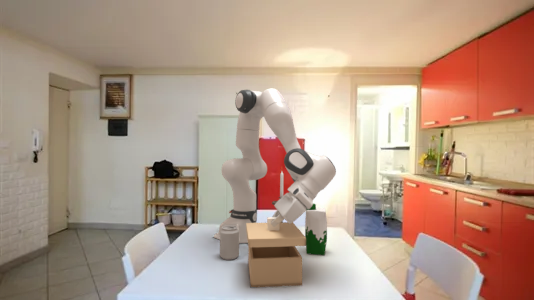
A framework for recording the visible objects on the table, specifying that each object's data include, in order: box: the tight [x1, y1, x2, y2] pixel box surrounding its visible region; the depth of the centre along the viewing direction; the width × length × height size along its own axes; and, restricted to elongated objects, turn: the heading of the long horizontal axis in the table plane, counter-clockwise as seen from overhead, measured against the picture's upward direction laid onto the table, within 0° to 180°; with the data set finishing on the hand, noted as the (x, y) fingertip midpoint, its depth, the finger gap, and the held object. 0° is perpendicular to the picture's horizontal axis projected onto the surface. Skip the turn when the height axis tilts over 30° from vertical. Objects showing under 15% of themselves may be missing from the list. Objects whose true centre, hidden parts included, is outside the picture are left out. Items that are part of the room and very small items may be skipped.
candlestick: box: [271, 165, 285, 222], centre depth 152 cm, size 11×11×35 cm
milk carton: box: [304, 203, 328, 256], centre depth 114 cm, size 9×9×20 cm
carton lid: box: [246, 216, 306, 248], centre depth 92 cm, size 18×20×6 cm
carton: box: [247, 246, 303, 288], centre depth 92 cm, size 16×18×9 cm
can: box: [219, 225, 240, 261], centre depth 107 cm, size 8×8×12 cm
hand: (271, 223), depth 92 cm, fingers closed on carton lid, 2 cm apart
